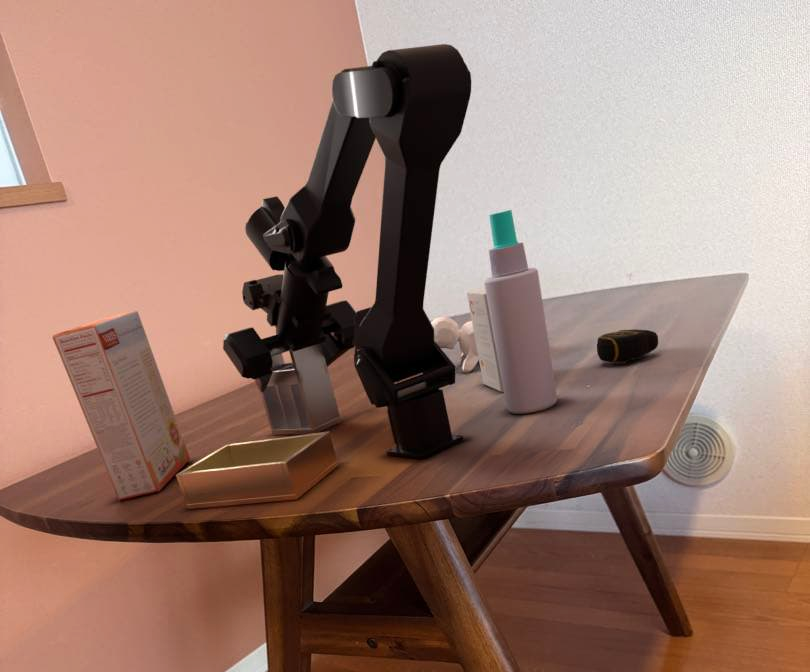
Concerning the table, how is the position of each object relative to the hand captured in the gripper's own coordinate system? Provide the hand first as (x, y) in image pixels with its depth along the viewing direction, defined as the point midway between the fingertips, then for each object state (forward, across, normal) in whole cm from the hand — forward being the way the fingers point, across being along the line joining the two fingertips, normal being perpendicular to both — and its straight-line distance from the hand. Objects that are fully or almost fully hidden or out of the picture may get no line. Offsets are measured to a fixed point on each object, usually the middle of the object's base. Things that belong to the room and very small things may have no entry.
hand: (289, 380), depth 108 cm
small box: (-8, -24, +18) cm, 31 cm away
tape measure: (-15, -36, +25) cm, 47 cm away
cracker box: (+6, +22, +4) cm, 23 cm away
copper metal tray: (-10, +16, +20) cm, 27 cm away
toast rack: (+4, 0, +6) cm, 7 cm away
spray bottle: (-18, -15, +27) cm, 36 cm away
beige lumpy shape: (+4, -32, +6) cm, 33 cm away
